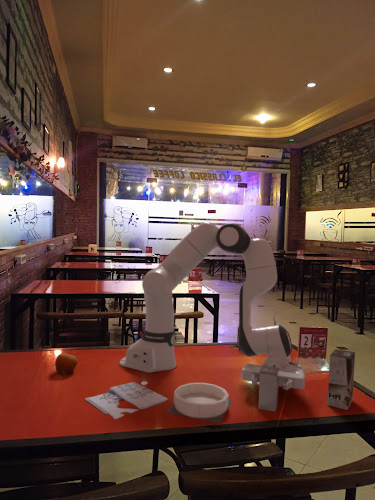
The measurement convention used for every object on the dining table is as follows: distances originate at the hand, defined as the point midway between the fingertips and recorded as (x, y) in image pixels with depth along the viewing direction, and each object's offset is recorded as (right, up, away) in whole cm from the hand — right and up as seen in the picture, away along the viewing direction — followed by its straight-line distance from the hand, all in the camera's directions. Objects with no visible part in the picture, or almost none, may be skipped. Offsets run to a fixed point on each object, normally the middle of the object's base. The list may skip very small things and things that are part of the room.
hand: (269, 384), depth 120 cm
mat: (-21, -6, -2) cm, 22 cm away
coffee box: (+24, -8, +5) cm, 26 cm away
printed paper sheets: (-45, -6, +1) cm, 45 cm away
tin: (-1, -7, -1) cm, 7 cm away
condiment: (0, -5, +64) cm, 64 cm away
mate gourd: (+14, -5, +59) cm, 61 cm away
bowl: (-21, -6, -2) cm, 22 cm away
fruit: (-70, -4, +24) cm, 74 cm away
